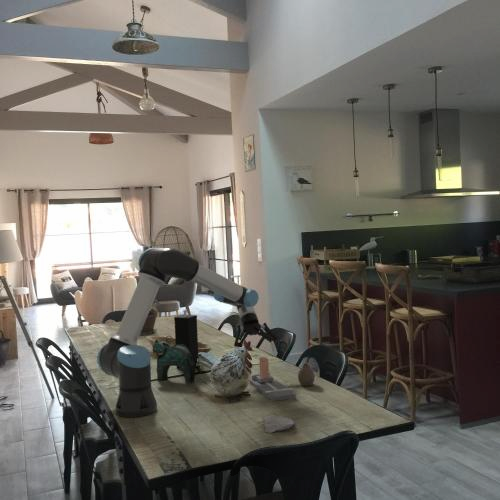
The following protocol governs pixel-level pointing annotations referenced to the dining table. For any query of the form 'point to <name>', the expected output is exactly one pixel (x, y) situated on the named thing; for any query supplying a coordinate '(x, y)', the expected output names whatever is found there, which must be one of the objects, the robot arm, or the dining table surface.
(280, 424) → the stone
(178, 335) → the black rectangular column
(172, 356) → the teal animal figurine
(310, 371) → the vase
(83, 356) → the dining table surface
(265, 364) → the fader knob
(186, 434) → the dining table surface
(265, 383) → the console board
